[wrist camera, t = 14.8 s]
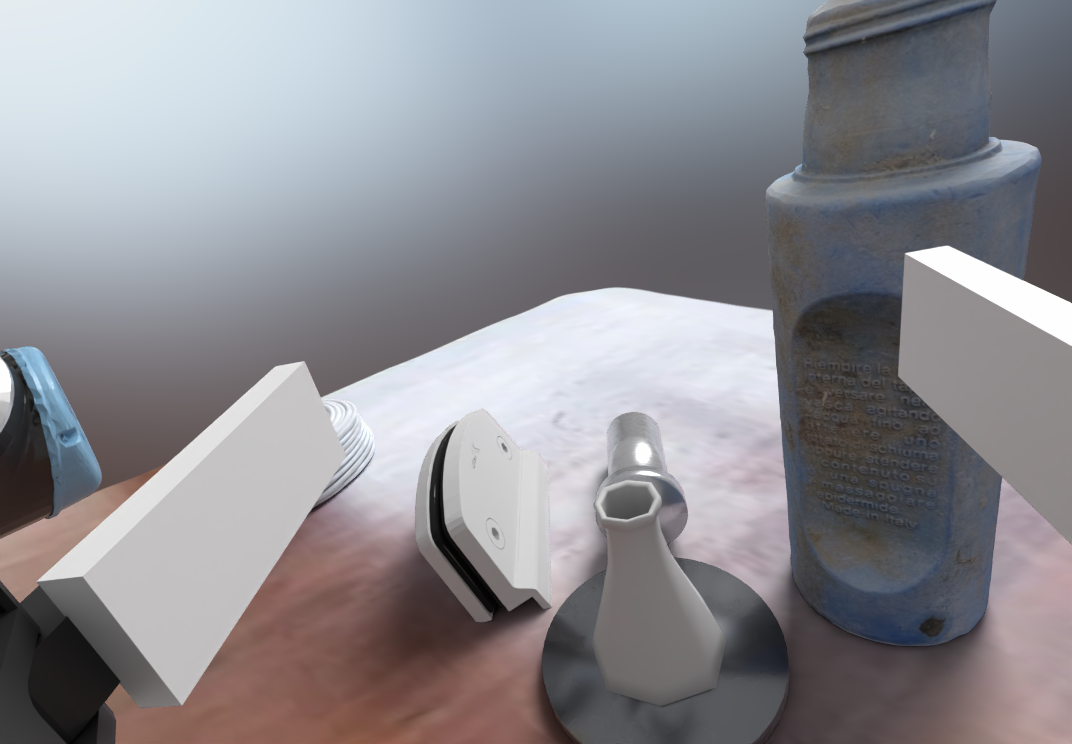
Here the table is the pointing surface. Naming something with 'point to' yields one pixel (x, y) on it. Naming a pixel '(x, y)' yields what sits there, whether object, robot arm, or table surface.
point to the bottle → (887, 312)
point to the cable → (348, 444)
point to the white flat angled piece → (485, 517)
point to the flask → (650, 607)
